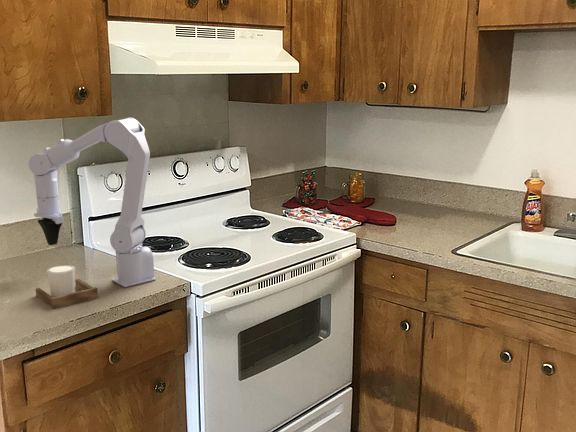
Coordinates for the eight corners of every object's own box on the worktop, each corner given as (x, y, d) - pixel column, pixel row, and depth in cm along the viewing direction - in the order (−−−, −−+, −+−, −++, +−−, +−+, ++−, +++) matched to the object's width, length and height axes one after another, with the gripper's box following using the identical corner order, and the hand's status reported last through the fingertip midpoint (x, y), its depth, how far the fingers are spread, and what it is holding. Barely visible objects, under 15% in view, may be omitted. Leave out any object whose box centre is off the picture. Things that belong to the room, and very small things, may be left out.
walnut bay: (79, 285, 169) (78, 276, 168) (98, 297, 160) (97, 288, 159) (36, 296, 161) (35, 286, 161) (53, 308, 153) (52, 299, 152)
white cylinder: (58, 301, 158) (55, 274, 156) (44, 295, 162) (41, 269, 160) (82, 293, 163) (80, 268, 161) (68, 288, 167) (66, 263, 165)
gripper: (23, 194, 174) (28, 241, 177) (42, 202, 163) (48, 252, 166) (49, 191, 178) (53, 237, 181) (69, 198, 168) (73, 247, 171)
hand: (52, 244), depth 174 cm, fingers closed
